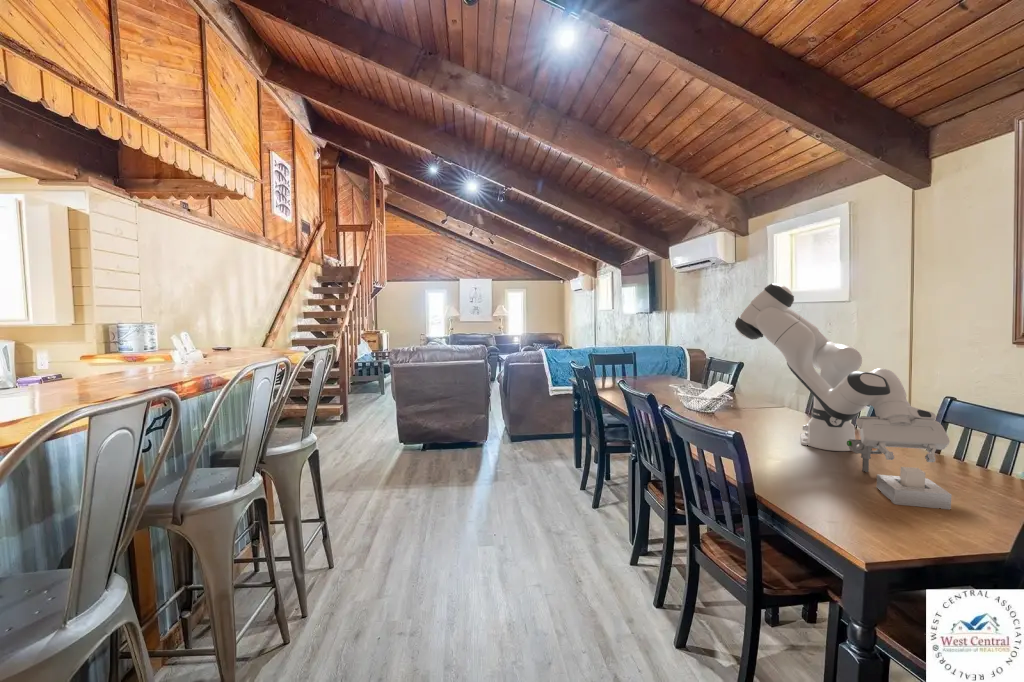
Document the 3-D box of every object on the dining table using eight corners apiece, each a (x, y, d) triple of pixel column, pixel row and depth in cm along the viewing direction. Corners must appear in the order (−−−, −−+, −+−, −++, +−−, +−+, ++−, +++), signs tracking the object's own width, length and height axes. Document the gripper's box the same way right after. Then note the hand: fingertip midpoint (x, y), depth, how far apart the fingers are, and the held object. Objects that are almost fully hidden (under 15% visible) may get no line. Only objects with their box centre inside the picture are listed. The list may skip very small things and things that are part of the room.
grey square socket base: (876, 488, 138) (876, 474, 137) (927, 492, 134) (928, 478, 134) (894, 504, 126) (895, 489, 126) (950, 509, 122) (951, 494, 122)
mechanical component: (886, 474, 149) (887, 442, 148) (849, 472, 151) (850, 441, 150) (880, 471, 152) (881, 440, 151) (844, 469, 154) (845, 439, 153)
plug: (899, 494, 133) (900, 466, 132) (917, 496, 131) (918, 468, 131) (906, 500, 129) (907, 471, 128) (924, 502, 128) (925, 472, 127)
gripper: (857, 410, 142) (870, 452, 134) (941, 413, 136) (960, 457, 127) (851, 421, 147) (863, 462, 138) (932, 424, 141) (950, 468, 132)
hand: (910, 460), depth 133 cm, fingers open, 8 cm apart
